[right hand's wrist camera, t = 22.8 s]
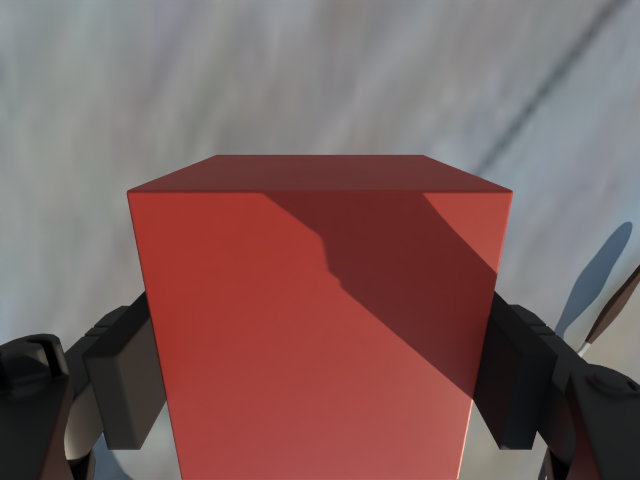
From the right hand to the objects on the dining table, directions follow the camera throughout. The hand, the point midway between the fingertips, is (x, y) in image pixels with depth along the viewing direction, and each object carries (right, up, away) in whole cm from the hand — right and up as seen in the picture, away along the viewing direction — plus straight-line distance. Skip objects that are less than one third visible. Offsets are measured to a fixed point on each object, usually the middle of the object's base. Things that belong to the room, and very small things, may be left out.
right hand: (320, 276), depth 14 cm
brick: (0, +1, +2) cm, 2 cm away
